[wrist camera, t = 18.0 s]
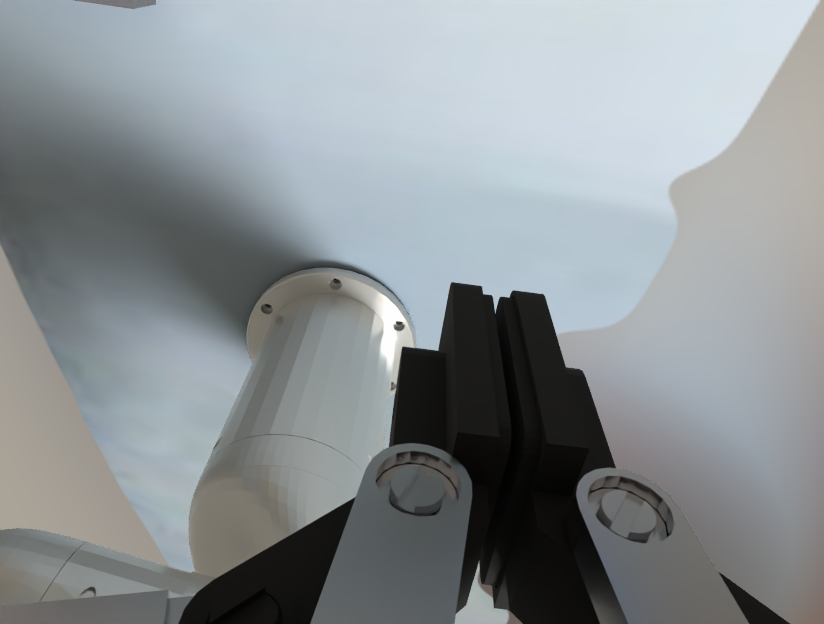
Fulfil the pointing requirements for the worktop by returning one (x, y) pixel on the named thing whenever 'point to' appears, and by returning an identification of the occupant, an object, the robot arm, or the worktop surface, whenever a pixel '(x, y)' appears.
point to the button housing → (123, 3)
